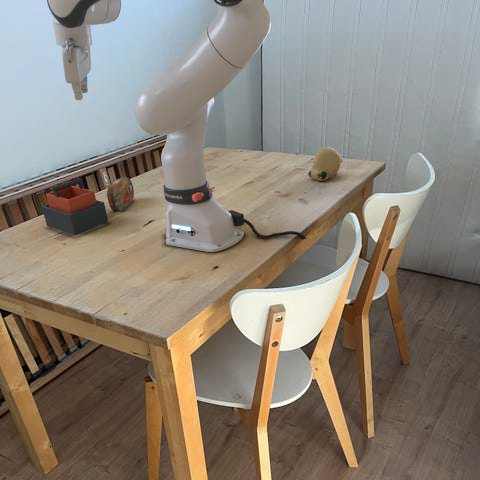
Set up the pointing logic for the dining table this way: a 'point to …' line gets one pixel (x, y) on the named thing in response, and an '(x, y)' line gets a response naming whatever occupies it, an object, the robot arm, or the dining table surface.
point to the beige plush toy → (325, 164)
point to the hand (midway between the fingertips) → (81, 96)
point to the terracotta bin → (71, 197)
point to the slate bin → (76, 218)
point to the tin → (120, 193)
